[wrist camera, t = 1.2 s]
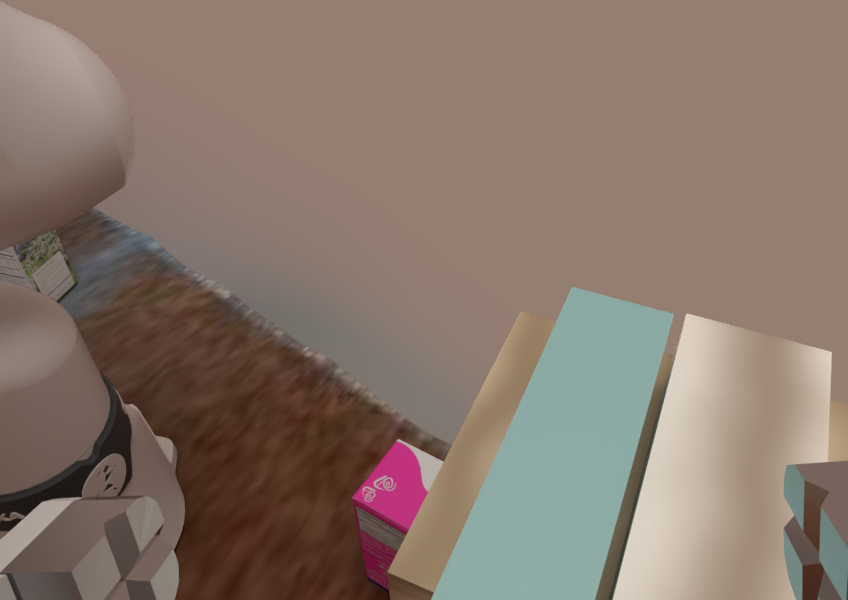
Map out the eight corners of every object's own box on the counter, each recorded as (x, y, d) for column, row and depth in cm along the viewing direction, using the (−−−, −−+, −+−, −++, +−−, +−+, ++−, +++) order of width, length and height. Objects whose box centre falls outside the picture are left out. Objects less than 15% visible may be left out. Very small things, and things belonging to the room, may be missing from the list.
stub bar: (332, 894, 17) (311, 863, 15) (560, 355, 31) (572, 286, 28) (483, 988, 16) (491, 973, 13) (652, 382, 29) (673, 314, 27)
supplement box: (404, 520, 57) (399, 434, 49) (467, 556, 54) (472, 472, 47) (362, 578, 53) (349, 495, 46) (428, 619, 51) (425, 540, 43)
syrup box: (38, 273, 81) (-17, 165, 71) (81, 282, 80) (31, 173, 70) (3, 305, 77) (-60, 195, 67) (48, 315, 76) (-10, 205, 66)
